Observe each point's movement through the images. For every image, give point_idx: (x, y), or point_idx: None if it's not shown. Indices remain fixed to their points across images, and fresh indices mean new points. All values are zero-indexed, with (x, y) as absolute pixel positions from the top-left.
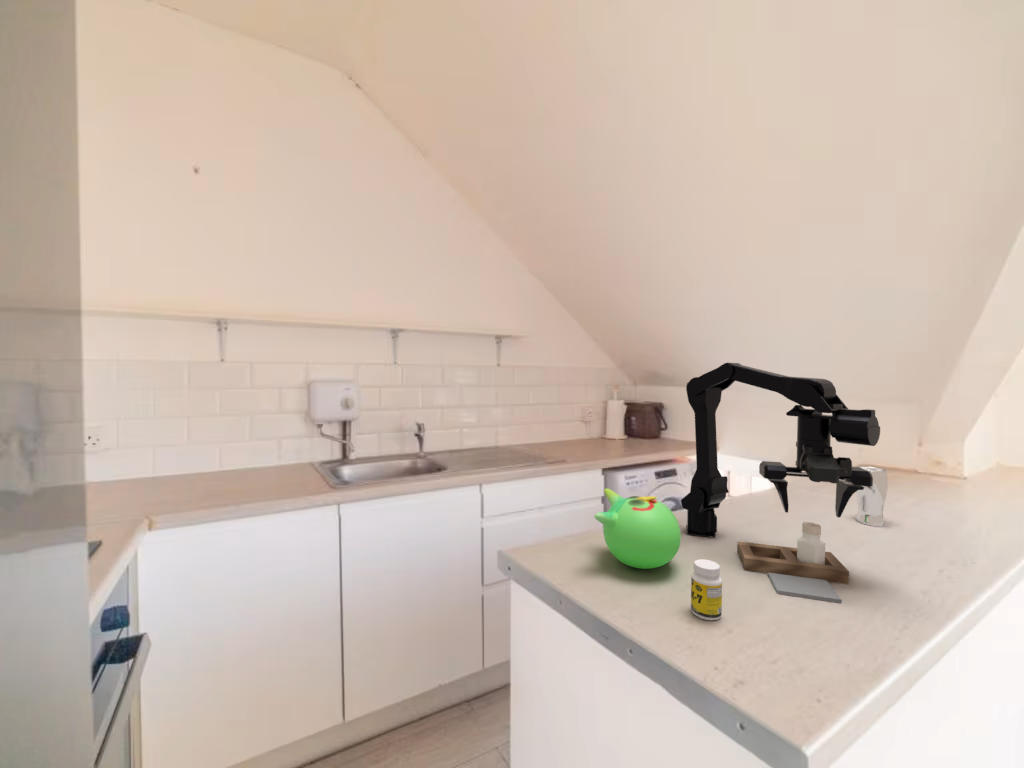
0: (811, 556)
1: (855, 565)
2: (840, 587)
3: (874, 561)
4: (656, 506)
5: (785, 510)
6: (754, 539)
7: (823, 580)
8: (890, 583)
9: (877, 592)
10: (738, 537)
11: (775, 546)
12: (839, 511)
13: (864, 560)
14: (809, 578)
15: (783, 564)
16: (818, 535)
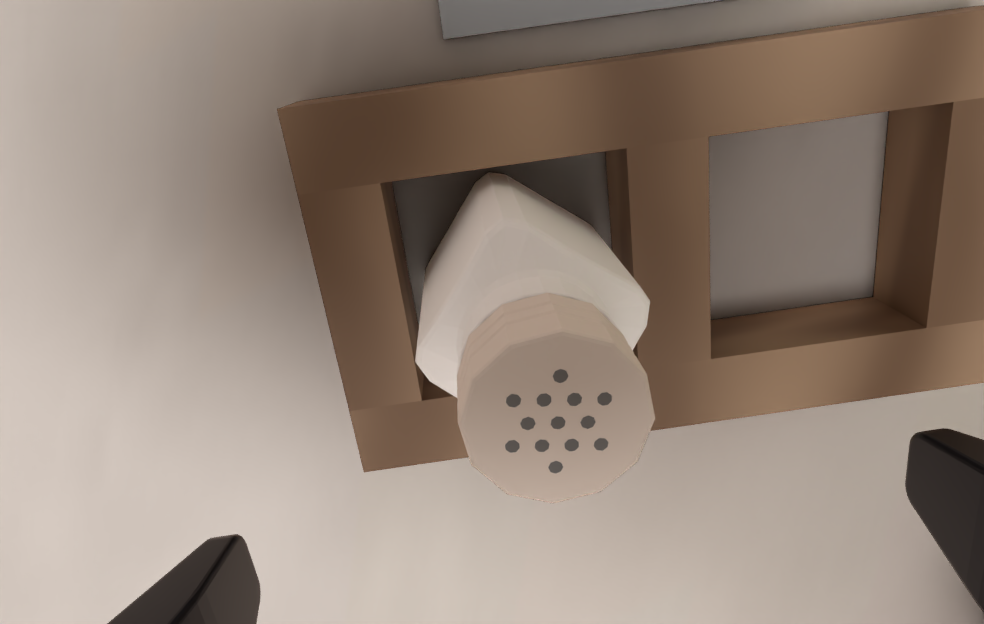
0: (532, 206)
1: (233, 472)
2: (359, 10)
3: (126, 587)
4: None
5: (972, 438)
6: (761, 614)
7: (463, 21)
8: (51, 265)
9: (132, 45)
10: (852, 603)
11: (729, 402)
12: (186, 589)
13: None
14: (556, 10)
15: (747, 43)
16: (487, 315)
